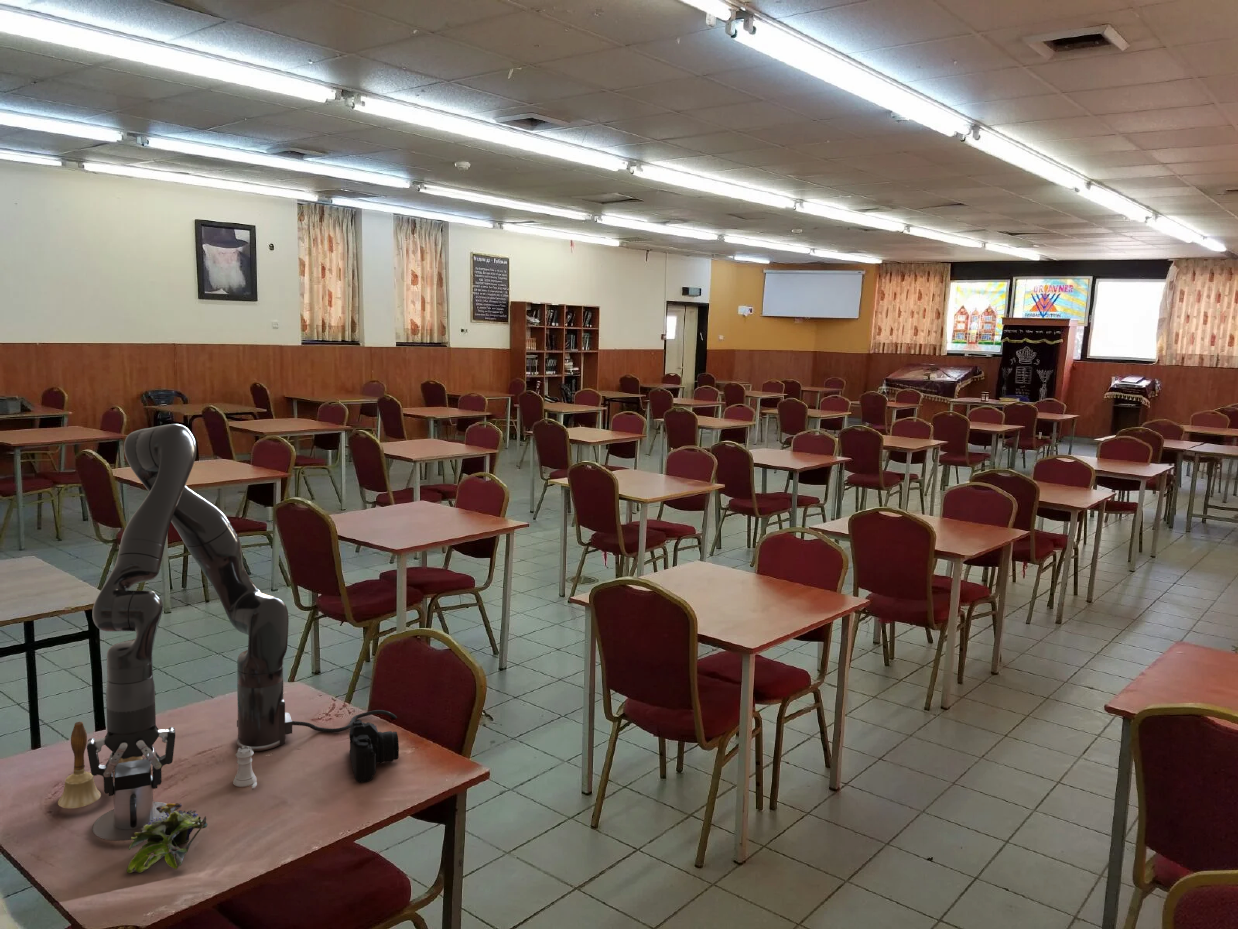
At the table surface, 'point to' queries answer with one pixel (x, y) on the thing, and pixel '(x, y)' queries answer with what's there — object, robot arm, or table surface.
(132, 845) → the passion flower
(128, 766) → the black-lidded handled container
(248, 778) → the rook chess piece
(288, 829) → the table surface
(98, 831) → the disc
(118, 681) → the robot arm
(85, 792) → the hand bell
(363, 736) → the film camera
